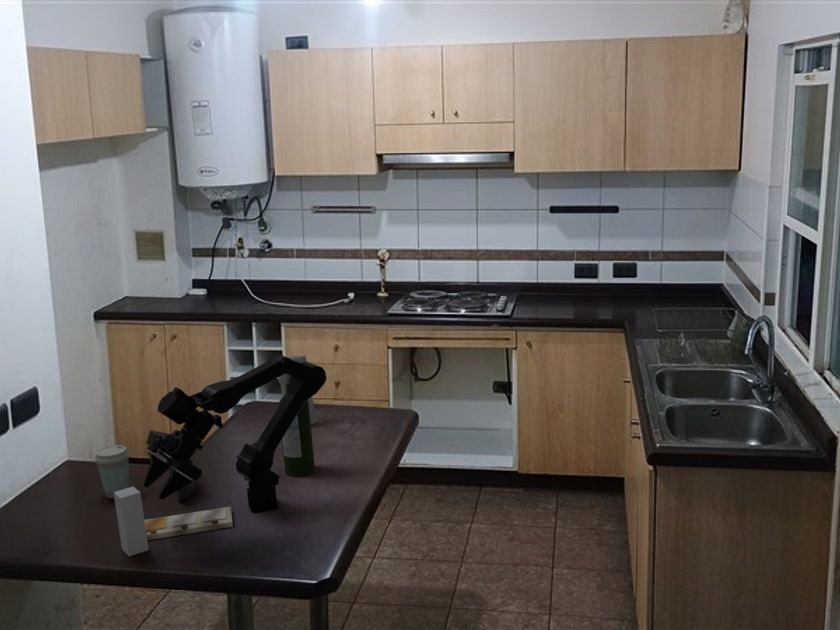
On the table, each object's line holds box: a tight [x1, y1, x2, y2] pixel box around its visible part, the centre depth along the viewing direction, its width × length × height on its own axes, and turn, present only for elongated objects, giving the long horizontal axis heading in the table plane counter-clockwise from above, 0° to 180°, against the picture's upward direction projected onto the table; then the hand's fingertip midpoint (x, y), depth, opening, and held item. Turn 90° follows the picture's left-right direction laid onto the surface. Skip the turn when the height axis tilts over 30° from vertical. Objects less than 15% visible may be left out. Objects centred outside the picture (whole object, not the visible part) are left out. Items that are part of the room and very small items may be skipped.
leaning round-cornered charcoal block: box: [173, 458, 196, 501], centre depth 251 cm, size 16×5×9 cm, turn 14°
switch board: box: [144, 506, 234, 541], centre depth 231 cm, size 22×9×2 cm, turn 103°
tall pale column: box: [277, 355, 316, 426], centre depth 291 cm, size 11×4×22 cm, turn 118°
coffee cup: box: [94, 444, 130, 500], centre depth 251 cm, size 9×9×12 cm
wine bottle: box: [277, 374, 316, 477], centre depth 256 cm, size 8×8×30 cm
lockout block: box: [114, 486, 149, 557], centre depth 219 cm, size 4×4×14 cm
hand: (152, 492), depth 221 cm, fingers open, 9 cm apart
